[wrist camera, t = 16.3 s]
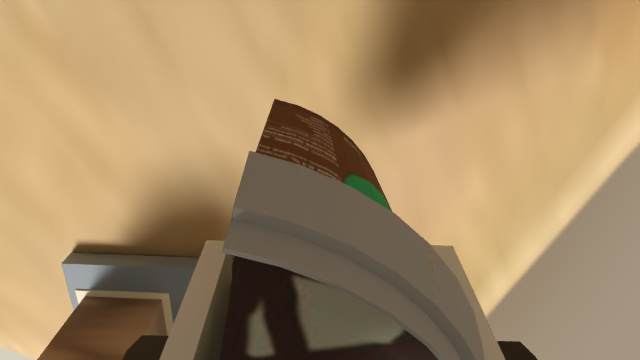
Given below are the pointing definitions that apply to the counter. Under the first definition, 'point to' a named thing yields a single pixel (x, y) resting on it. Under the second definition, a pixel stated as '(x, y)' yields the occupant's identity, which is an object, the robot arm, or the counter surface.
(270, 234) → the food container
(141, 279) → the board
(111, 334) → the walnut pillar
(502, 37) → the counter surface
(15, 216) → the counter surface
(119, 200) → the counter surface
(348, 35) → the counter surface
